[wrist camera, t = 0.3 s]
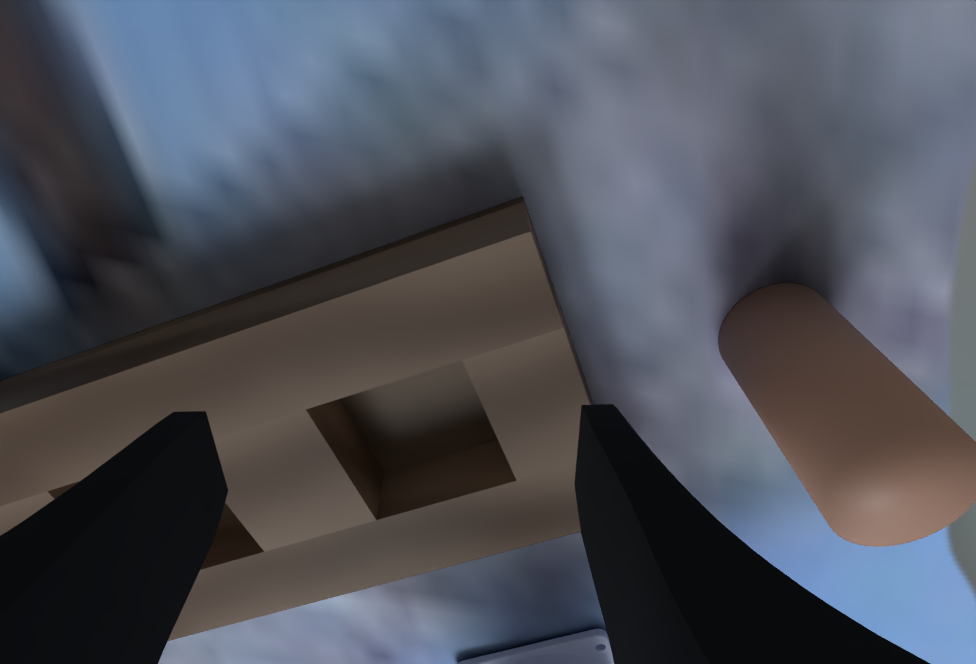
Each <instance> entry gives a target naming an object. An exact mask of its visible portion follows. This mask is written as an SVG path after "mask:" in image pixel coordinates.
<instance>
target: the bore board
mask: <svg viewBox="0 0 976 664" xmlns="http://www.w3.org/2000/svg"><path fill="white" fill-rule="evenodd" d="M581 405H594V404H593V402H592V399H591V396H590V393H589V390H588V387H587V384H586V381H585V378H584V375H583V372H582V369H581V366H580V363H579V360H578V357H577V355H576V352H575V349H574V346H573V343H572V340H571V337H570V334H569V331H568V328H567V325H566V322H565V319H564V316H563V313H562V310H561V308H560V305H559V302H558V299H557V296H556V293H555V290H554V287H553V284H552V281H551V278H550V275H549V272H548V269H547V266H546V263H545V261H544V258H543V255H542V252H541V249H540V246H539V243H538V240H537V237H536V234H535V231H534V228H533V225H532V222H531V219H530V216H529V214H528V211H527V208H526V205H525V202H524V199H523V197H520V198H517V199H515V200H512V201H509V202H506V203H503V204H500V205H498V206H495V207H492V208H489V209H486V210H483V211H481V212H478V213H475V214H472V215H469V216H466V217H464V218H461V219H458V220H455V221H452V222H449V223H447V224H444V225H441V226H438V227H435V228H432V229H430V230H427V231H424V232H421V233H418V234H415V235H413V236H410V237H407V238H404V239H401V240H398V241H396V242H393V243H390V244H387V245H384V246H381V247H379V248H376V249H373V250H370V251H367V252H364V253H362V254H359V255H356V256H353V257H350V258H347V259H345V260H342V261H339V262H336V263H333V264H330V265H328V266H325V267H322V268H319V269H316V270H313V271H311V272H308V273H305V274H302V275H299V276H296V277H294V278H291V279H288V280H285V281H282V282H279V283H277V284H274V285H271V286H268V287H265V288H262V289H260V290H257V291H254V292H251V293H248V294H245V295H243V296H240V297H237V298H234V299H231V300H228V301H226V302H223V303H220V304H217V305H214V306H211V307H209V308H206V309H203V310H200V311H197V312H194V313H192V314H189V315H186V316H183V317H180V318H177V319H175V320H172V321H169V322H166V323H163V324H160V325H158V326H155V327H152V328H149V329H146V330H143V331H141V332H138V333H135V334H132V335H129V336H126V337H124V338H121V339H118V340H115V341H112V342H109V343H107V344H104V345H101V346H98V347H95V348H92V349H90V350H87V351H84V352H81V353H78V354H75V355H73V356H70V357H67V358H64V359H61V360H58V361H56V362H53V363H50V364H47V365H44V366H41V367H39V368H36V369H33V370H30V371H27V372H24V373H22V374H19V375H16V376H13V377H10V378H7V379H5V380H2V381H0V536H1V535H2V534H4V533H5V532H7V531H9V530H10V529H12V528H13V527H15V526H16V525H18V524H19V523H21V522H22V521H24V520H25V519H27V518H28V517H30V516H31V515H33V514H34V513H35V512H37V511H38V510H40V509H41V508H43V507H44V506H46V505H47V504H48V503H50V502H51V501H53V500H54V499H56V498H57V497H58V496H60V495H61V494H63V493H64V492H66V491H67V490H68V489H70V488H71V487H73V486H74V485H76V484H77V483H78V482H80V481H81V480H82V479H84V478H85V477H86V476H88V475H89V474H90V473H92V472H93V471H94V470H96V469H97V468H98V467H100V466H101V465H102V464H104V463H105V462H106V461H108V460H109V459H110V458H112V457H113V456H114V455H116V454H117V453H118V452H120V451H121V450H122V449H124V448H125V447H126V446H128V445H129V444H130V443H131V442H133V441H134V440H135V439H137V438H138V437H139V436H141V435H142V434H143V433H145V432H146V431H147V430H149V429H150V428H151V427H153V426H154V425H155V424H157V423H158V422H159V421H161V420H162V419H164V418H165V417H167V416H168V415H170V414H171V413H173V412H182V411H206V414H207V417H208V421H209V424H210V428H211V431H212V435H213V438H214V442H215V445H216V449H217V452H218V456H219V459H220V463H221V466H222V470H223V473H224V477H225V480H226V484H227V487H228V494H227V497H226V501H225V504H224V508H223V511H222V515H221V518H220V521H219V525H218V528H217V531H216V534H215V537H214V540H213V542H212V545H211V547H210V549H209V551H208V554H207V556H206V558H205V560H204V563H203V565H202V567H201V569H200V571H199V574H198V576H197V578H196V580H195V582H194V585H193V587H192V589H191V591H190V593H189V595H188V598H187V600H186V602H185V604H184V606H183V608H182V611H181V613H180V615H179V617H178V619H177V622H176V624H175V626H174V628H173V630H172V632H171V635H170V637H169V639H168V641H170V640H173V639H177V638H181V637H185V636H188V635H192V634H196V633H200V632H204V631H207V630H211V629H215V628H219V627H222V626H226V625H230V624H234V623H238V622H241V621H245V620H249V619H253V618H256V617H260V616H264V615H268V614H272V613H275V612H279V611H283V610H287V609H290V608H294V607H298V606H302V605H306V604H309V603H313V602H317V601H321V600H324V599H328V598H332V597H336V596H340V595H343V594H347V593H351V592H355V591H358V590H362V589H366V588H370V587H374V586H377V585H381V584H385V583H389V582H392V581H396V580H400V579H404V578H408V577H411V576H415V575H419V574H423V573H426V572H430V571H434V570H438V569H442V568H445V567H449V566H453V565H457V564H460V563H464V562H468V561H472V560H476V559H479V558H483V557H487V556H491V555H494V554H498V553H502V552H506V551H510V550H513V549H517V548H521V547H525V546H528V545H532V544H536V543H540V542H544V541H547V540H551V539H555V538H559V537H562V536H566V535H570V534H574V533H578V532H581V529H580V522H579V515H578V508H577V500H576V493H575V485H574V483H575V471H576V460H577V449H578V438H579V427H580V416H581Z"/></svg>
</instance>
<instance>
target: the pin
mask: <svg viewBox="0 0 976 664" xmlns="http://www.w3.org/2000/svg"><path fill="white" fill-rule="evenodd" d="M718 344H719V351H720V354H721V356H722V358H723V360H724V362H725V363H726V365H727V366H728V368H729V370H730V371H731V373H732V374H733V376H734V377H735V379H736V381H737V382H738V384H739V385H740V387H741V388H742V390H743V391H744V393H745V395H746V396H747V398H748V399H749V401H750V402H751V404H752V406H753V407H754V409H755V410H756V412H757V413H758V415H759V417H760V418H761V420H762V421H763V423H764V424H765V426H766V428H767V429H768V431H769V432H770V434H771V435H772V437H773V438H774V440H775V442H776V443H777V445H778V446H779V448H780V449H781V451H782V453H783V454H784V456H785V457H786V459H787V460H788V462H789V464H790V465H791V467H792V468H793V470H794V471H795V473H796V475H797V476H798V478H799V479H800V481H801V482H802V484H803V485H804V487H805V489H806V490H807V492H808V493H809V495H810V496H811V498H812V500H813V501H814V503H815V504H816V506H817V507H818V509H819V511H820V512H821V514H822V515H823V517H824V518H825V520H826V522H827V523H828V525H829V526H830V527H831V529H832V530H833V531H834V532H835V533H836V534H837V535H838V536H840V537H841V538H843V539H845V540H847V541H849V542H852V543H855V544H859V545H865V546H876V547H879V546H893V545H899V544H904V543H908V542H912V541H915V540H918V539H921V538H924V537H926V536H929V535H931V534H933V533H935V532H937V531H939V530H941V529H943V528H945V527H946V526H948V525H949V524H951V523H952V522H954V521H955V520H956V519H958V518H959V517H960V516H961V515H963V514H964V513H965V512H966V511H967V510H968V509H969V508H970V507H971V506H972V505H973V504H974V502H975V501H976V442H975V441H974V440H973V439H972V438H971V437H970V436H969V435H968V434H967V433H966V432H965V431H963V429H961V428H960V427H959V426H958V425H957V424H956V423H955V422H954V421H953V420H952V419H951V418H950V417H949V416H948V415H947V414H946V413H945V412H944V411H942V410H941V409H940V408H939V407H938V406H937V405H936V404H935V403H934V402H933V401H932V400H931V399H930V398H929V397H928V396H927V395H926V394H925V393H923V392H922V391H921V390H920V389H919V388H918V387H917V386H916V385H915V384H914V383H913V382H912V381H911V380H910V379H909V378H908V377H907V376H906V375H904V374H903V373H902V372H901V371H900V370H899V369H898V368H897V367H896V366H895V365H894V364H893V363H892V362H891V361H890V360H889V359H888V358H887V357H885V356H884V355H883V354H882V353H881V352H880V351H879V350H878V349H877V348H876V347H875V346H874V345H873V344H872V343H871V342H870V341H869V340H868V339H866V338H865V337H864V336H863V335H862V334H861V333H860V332H859V331H858V330H857V329H856V328H855V327H854V326H853V325H852V324H851V323H850V322H849V321H847V320H846V319H845V318H844V317H843V316H842V315H841V314H840V313H839V312H838V311H837V310H836V309H835V308H834V307H833V306H832V305H831V304H830V303H829V302H827V301H826V300H825V299H824V298H823V297H822V296H821V295H820V294H819V293H818V292H816V291H815V290H813V289H812V288H810V287H807V286H805V285H801V284H796V283H780V284H774V285H770V286H766V287H763V288H761V289H758V290H756V291H754V292H752V293H751V294H749V295H748V296H746V297H745V298H743V299H742V300H741V301H739V302H738V303H737V304H736V305H735V306H734V307H733V308H732V310H731V311H730V312H729V313H728V315H727V316H726V318H725V320H724V322H723V324H722V326H721V329H720V333H719V340H718Z"/></svg>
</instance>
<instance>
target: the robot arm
mask: <svg viewBox="0 0 976 664" xmlns="http://www.w3.org/2000/svg"><path fill="white" fill-rule="evenodd" d="M574 485H575V493H576V500H577V508H578V515H579V522H580V529H581V534H582V538H583V542H584V546H585V550H586V554H587V558H588V562H589V565H590V569H591V573H592V577H593V581H594V585H595V588H596V592H597V596H598V600H599V604H600V607H601V611H602V615H603V619H604V623H605V626H606V630H607V633H606V632H605V631H604V630H602V629H593V630H588V631H584V632H580V633H576V634H572V635H568V636H563V637H559V638H555V639H551V640H547V641H543V642H538V643H534V644H530V645H526V646H522V647H518V648H513V649H509V650H505V651H501V652H497V653H493V654H488V655H484V656H480V657H476V658H472V659H467V660H463V661H460V662H458V663H457V664H930V663H928V662H926V661H924V660H923V659H921V658H919V657H917V656H915V655H913V654H912V653H910V652H908V651H906V650H904V649H903V648H901V647H899V646H897V645H895V644H893V643H892V642H890V641H888V640H886V639H884V638H882V637H881V636H879V635H877V634H875V633H874V632H872V631H870V630H869V629H867V628H866V627H864V626H862V625H861V624H859V623H857V622H856V621H854V620H853V619H851V618H849V617H848V616H846V615H845V614H843V613H841V612H840V611H838V610H837V609H835V608H833V607H832V606H830V605H829V604H827V603H826V602H824V601H823V600H821V599H820V598H818V597H817V596H815V595H814V594H812V593H811V592H809V591H808V590H806V589H805V588H803V587H802V586H801V585H799V584H798V583H797V582H795V581H794V580H792V579H791V578H790V577H788V576H787V575H785V574H784V573H783V572H781V571H780V570H779V569H777V568H776V567H774V566H773V565H772V564H770V563H769V562H768V561H766V560H765V559H764V558H763V557H761V556H760V555H759V554H757V553H756V552H755V551H754V550H752V549H751V548H750V547H749V546H748V545H746V544H745V543H744V542H743V541H742V540H740V539H739V538H738V537H737V536H736V535H734V534H733V533H732V532H731V531H730V530H728V529H727V528H726V527H725V526H724V525H723V524H722V523H721V522H719V521H718V520H717V519H716V518H715V517H714V516H713V515H712V514H711V513H710V512H709V511H708V510H707V509H706V508H705V507H704V506H703V505H702V504H701V503H700V502H699V501H698V500H697V499H696V498H694V497H693V496H692V495H691V494H690V492H689V491H688V490H687V489H686V488H685V487H684V486H683V485H682V484H681V483H680V482H679V481H678V480H677V479H676V478H675V477H674V475H673V474H672V473H671V472H670V471H669V470H668V469H667V468H666V467H665V466H664V464H663V463H662V462H661V461H660V460H659V459H658V458H657V457H656V455H655V454H654V453H653V452H652V451H651V450H650V448H649V447H648V446H647V445H646V444H645V442H644V441H643V440H642V439H641V438H640V436H639V435H638V434H637V433H636V432H635V430H634V429H633V428H632V427H631V425H630V424H629V423H628V422H627V420H626V419H625V418H624V416H623V415H622V414H621V413H620V411H619V410H618V409H617V408H616V407H615V406H614V405H613V404H607V405H581V416H580V427H579V438H578V449H577V460H576V471H575V483H574ZM227 494H228V487H227V484H226V480H225V477H224V473H223V470H222V466H221V463H220V459H219V456H218V452H217V449H216V445H215V442H214V438H213V435H212V431H211V428H210V424H209V421H208V417H207V414H206V411H182V412H173V413H171V414H170V415H168V416H167V417H165V418H164V419H162V420H161V421H159V422H158V423H157V424H155V425H154V426H153V427H151V428H150V429H149V430H147V431H146V432H145V433H143V434H142V435H141V436H139V437H138V438H137V439H135V440H134V441H133V442H131V443H130V444H129V445H128V446H126V447H125V448H124V449H122V450H121V451H120V452H118V453H117V454H116V455H114V456H113V457H112V458H110V459H109V460H108V461H106V462H105V463H104V464H102V465H101V466H100V467H98V468H97V469H96V470H94V471H93V472H92V473H90V474H89V475H88V476H86V477H85V478H84V479H82V480H81V481H80V482H78V483H77V484H76V485H74V486H73V487H71V488H70V489H68V490H67V491H66V492H64V493H63V494H61V495H60V496H58V497H57V498H56V499H54V500H53V501H51V502H50V503H48V504H47V505H46V506H44V507H43V508H41V509H40V510H38V511H37V512H35V513H34V514H33V515H31V516H30V517H28V518H27V519H25V520H24V521H22V522H21V523H19V524H18V525H16V526H15V527H13V528H12V529H10V530H9V531H7V532H5V533H4V534H2V535H1V536H0V664H158V662H159V659H160V657H161V655H162V652H163V650H164V648H165V645H166V643H167V641H168V639H169V637H170V635H171V632H172V630H173V628H174V626H175V624H176V622H177V619H178V617H179V615H180V613H181V611H182V608H183V606H184V604H185V602H186V600H187V598H188V595H189V593H190V591H191V589H192V587H193V585H194V582H195V580H196V578H197V576H198V574H199V571H200V569H201V567H202V565H203V563H204V560H205V558H206V556H207V554H208V551H209V549H210V547H211V545H212V542H213V540H214V537H215V534H216V531H217V528H218V525H219V521H220V518H221V515H222V511H223V508H224V504H225V501H226V497H227ZM607 634H608V635H607Z"/></svg>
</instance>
